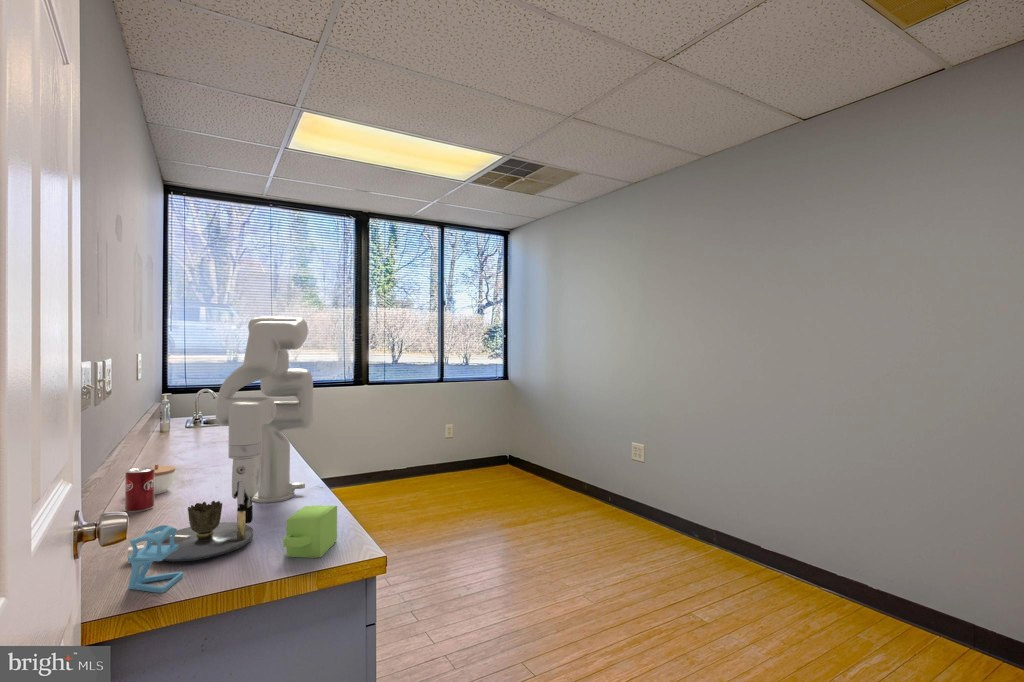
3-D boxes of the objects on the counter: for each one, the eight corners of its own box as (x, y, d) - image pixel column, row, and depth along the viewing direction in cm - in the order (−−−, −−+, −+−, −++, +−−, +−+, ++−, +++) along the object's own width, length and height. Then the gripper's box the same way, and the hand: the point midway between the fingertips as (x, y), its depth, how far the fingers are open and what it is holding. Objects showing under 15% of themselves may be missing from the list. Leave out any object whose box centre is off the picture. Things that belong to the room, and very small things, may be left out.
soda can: (122, 514, 151) (122, 473, 151) (127, 507, 157) (128, 468, 157) (152, 510, 154) (152, 471, 154) (156, 504, 160) (156, 466, 160)
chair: (143, 577, 110) (144, 521, 110) (184, 575, 111) (184, 520, 111) (119, 594, 103) (120, 535, 103) (163, 593, 103) (164, 533, 103)
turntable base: (232, 533, 136) (232, 521, 136) (238, 550, 125) (238, 538, 125) (129, 551, 124) (129, 539, 124) (126, 573, 112) (126, 559, 112)
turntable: (270, 528, 136) (270, 498, 136) (214, 563, 114) (214, 527, 114) (194, 525, 139) (194, 495, 139) (124, 558, 117) (125, 523, 117)
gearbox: (306, 534, 136) (306, 498, 136) (343, 535, 135) (343, 499, 136) (272, 563, 118) (273, 522, 118) (314, 564, 117) (315, 523, 118)
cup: (183, 544, 122) (183, 511, 122) (192, 533, 129) (192, 502, 129) (218, 540, 124) (218, 508, 125) (225, 530, 132) (225, 499, 132)
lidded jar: (137, 498, 166) (137, 470, 166) (135, 491, 174) (136, 463, 174) (176, 492, 173) (177, 465, 173) (173, 486, 181) (173, 459, 181)
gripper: (256, 455, 123) (255, 531, 123) (266, 443, 137) (266, 511, 137) (221, 457, 121) (220, 534, 121) (235, 445, 135) (235, 514, 135)
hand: (244, 522), depth 129 cm, fingers closed
